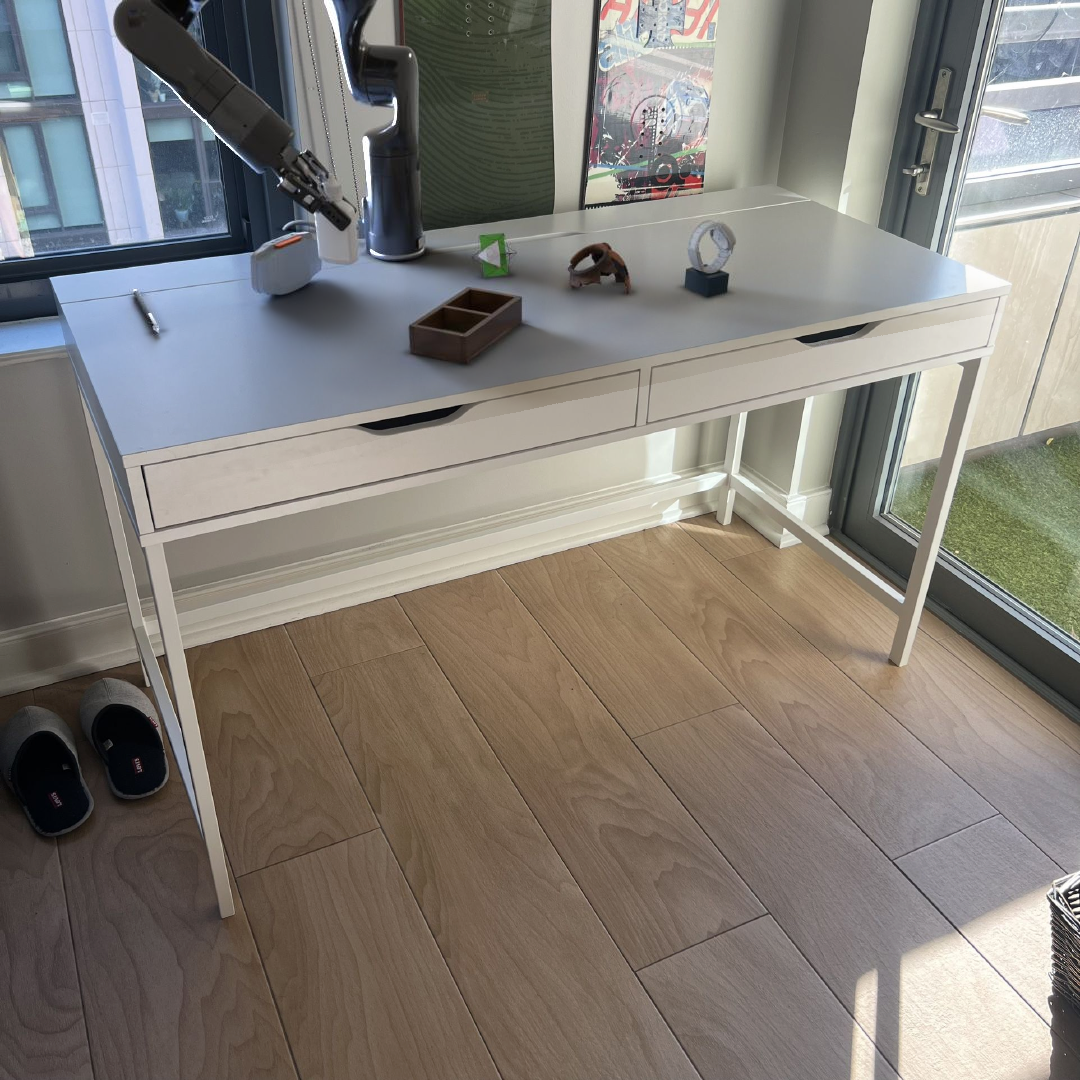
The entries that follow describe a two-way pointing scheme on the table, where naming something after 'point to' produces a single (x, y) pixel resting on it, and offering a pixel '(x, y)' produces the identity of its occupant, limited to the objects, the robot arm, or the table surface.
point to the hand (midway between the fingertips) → (349, 220)
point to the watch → (710, 276)
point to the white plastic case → (285, 264)
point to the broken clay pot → (598, 266)
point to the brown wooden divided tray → (465, 325)
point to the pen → (146, 310)
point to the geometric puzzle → (493, 255)
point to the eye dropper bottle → (336, 230)
